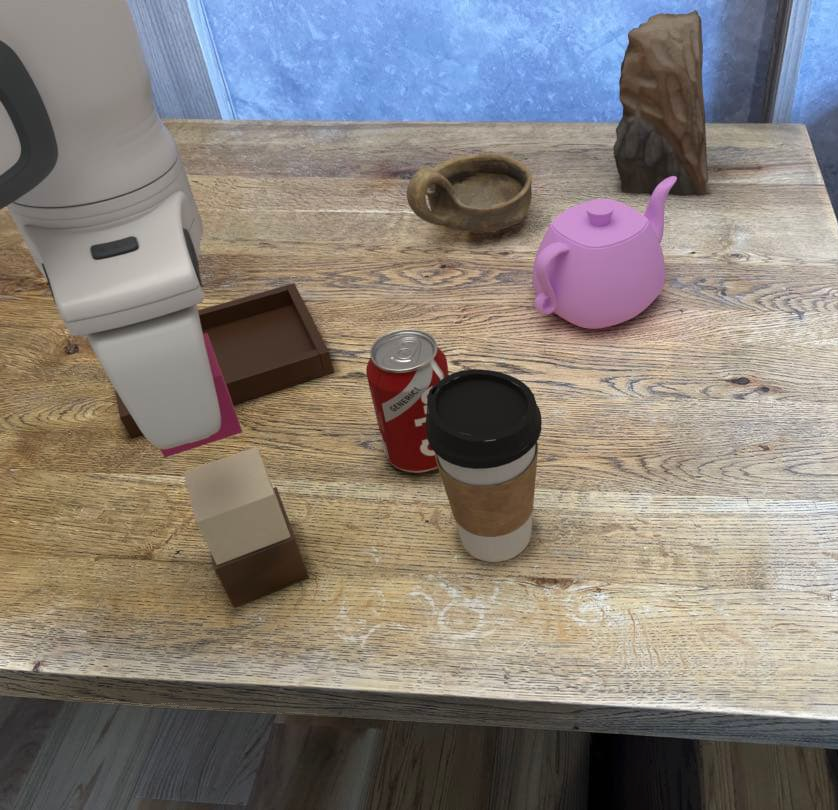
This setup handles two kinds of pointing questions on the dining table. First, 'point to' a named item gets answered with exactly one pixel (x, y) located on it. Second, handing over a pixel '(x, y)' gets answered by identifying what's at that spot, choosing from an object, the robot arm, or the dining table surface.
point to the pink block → (227, 410)
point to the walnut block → (263, 569)
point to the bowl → (472, 192)
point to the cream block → (235, 505)
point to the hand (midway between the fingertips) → (189, 404)
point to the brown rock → (663, 107)
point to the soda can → (405, 394)
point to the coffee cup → (486, 458)
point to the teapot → (602, 261)
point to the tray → (260, 345)
